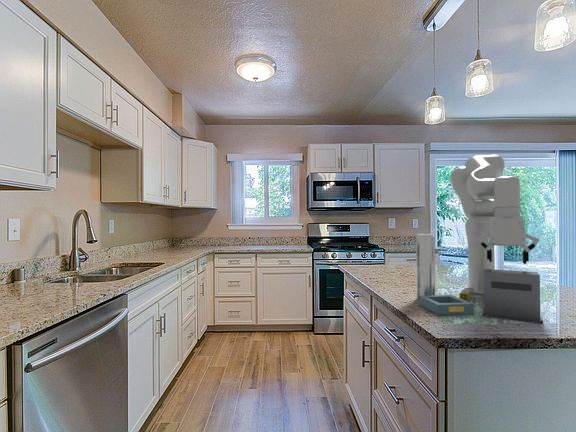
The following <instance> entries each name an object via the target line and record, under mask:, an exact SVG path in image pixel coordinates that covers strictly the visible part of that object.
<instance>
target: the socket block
mask: <svg viewBox="0 0 576 432" xmlns="http://www.w3.org/2000/svg"><path fill="white" fill-rule="evenodd" d="M418 306H419V307H420V308H422V309H424V310H426V311H428V312H430V313H432V314H434V315H436V316H437V317H449V316H450V317H453V316H475V303H473V302H471V301H470V302H468V301H465V300H463V299H460V298H459V297H457V296H454V295H452V294H443V295H441V294H440V295H439V294H438V295H437V294H435V295H433V296H419V300H418Z"/></svg>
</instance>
